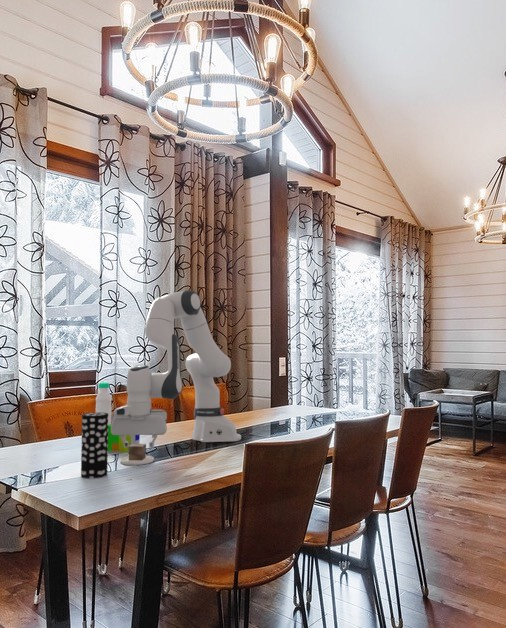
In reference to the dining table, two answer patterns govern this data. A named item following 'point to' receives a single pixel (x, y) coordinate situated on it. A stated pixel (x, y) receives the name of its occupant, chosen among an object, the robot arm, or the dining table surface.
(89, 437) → the spotted tube
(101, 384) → the water bottle
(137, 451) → the walnut block
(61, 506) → the dining table surface
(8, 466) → the dining table surface
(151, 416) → the robot arm
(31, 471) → the dining table surface
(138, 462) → the saucer
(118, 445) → the puzzle toy
